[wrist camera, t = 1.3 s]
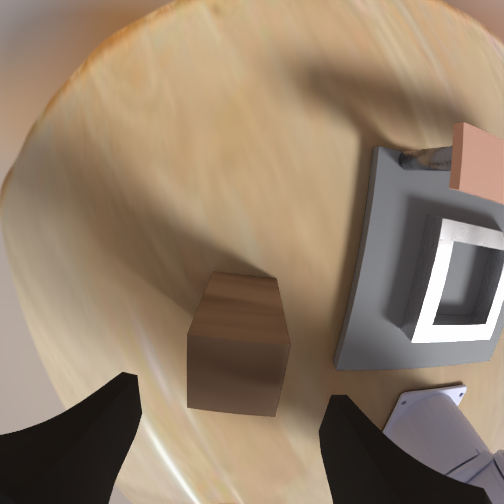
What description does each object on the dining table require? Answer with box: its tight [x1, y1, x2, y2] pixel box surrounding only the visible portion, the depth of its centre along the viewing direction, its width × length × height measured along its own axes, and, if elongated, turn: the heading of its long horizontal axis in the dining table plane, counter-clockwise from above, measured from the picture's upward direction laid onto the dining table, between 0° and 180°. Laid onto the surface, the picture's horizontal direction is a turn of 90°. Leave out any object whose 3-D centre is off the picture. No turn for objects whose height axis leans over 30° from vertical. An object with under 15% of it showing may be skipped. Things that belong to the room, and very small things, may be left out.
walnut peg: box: [187, 272, 290, 417], centre depth 16 cm, size 4×4×8 cm
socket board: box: [333, 122, 504, 370], centre depth 15 cm, size 16×16×8 cm
